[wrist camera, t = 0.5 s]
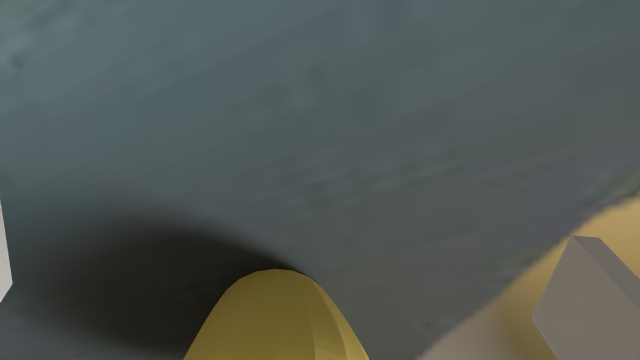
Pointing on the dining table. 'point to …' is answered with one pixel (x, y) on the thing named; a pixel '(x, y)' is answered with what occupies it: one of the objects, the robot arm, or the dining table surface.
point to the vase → (275, 322)
